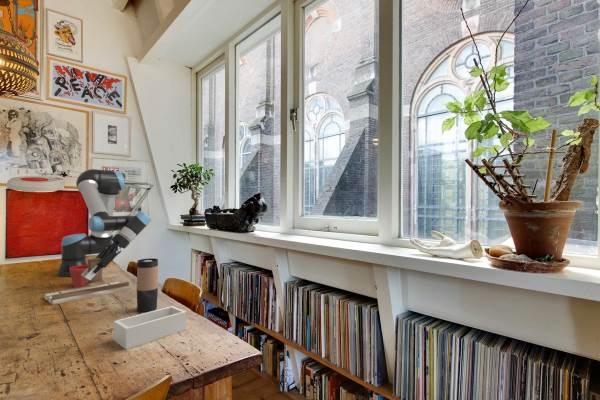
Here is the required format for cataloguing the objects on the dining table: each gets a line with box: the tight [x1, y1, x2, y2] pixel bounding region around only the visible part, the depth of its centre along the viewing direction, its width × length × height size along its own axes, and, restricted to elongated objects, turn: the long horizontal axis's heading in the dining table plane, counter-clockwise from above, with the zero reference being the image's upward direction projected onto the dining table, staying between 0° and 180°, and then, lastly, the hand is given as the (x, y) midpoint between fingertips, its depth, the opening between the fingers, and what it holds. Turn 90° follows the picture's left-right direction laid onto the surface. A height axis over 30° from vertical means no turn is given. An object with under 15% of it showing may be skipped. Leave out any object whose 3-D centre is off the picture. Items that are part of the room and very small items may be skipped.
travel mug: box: [136, 257, 159, 314], centre depth 127 cm, size 8×8×20 cm
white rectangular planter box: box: [113, 305, 188, 350], centre depth 103 cm, size 9×19×6 cm, turn 140°
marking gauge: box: [85, 257, 106, 287], centre depth 146 cm, size 7×6×12 cm
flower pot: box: [70, 264, 88, 288], centre depth 162 cm, size 11×11×10 cm
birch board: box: [43, 280, 130, 306], centre depth 147 cm, size 14×30×4 cm, turn 140°
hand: (85, 277), depth 143 cm, fingers closed on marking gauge, 4 cm apart
